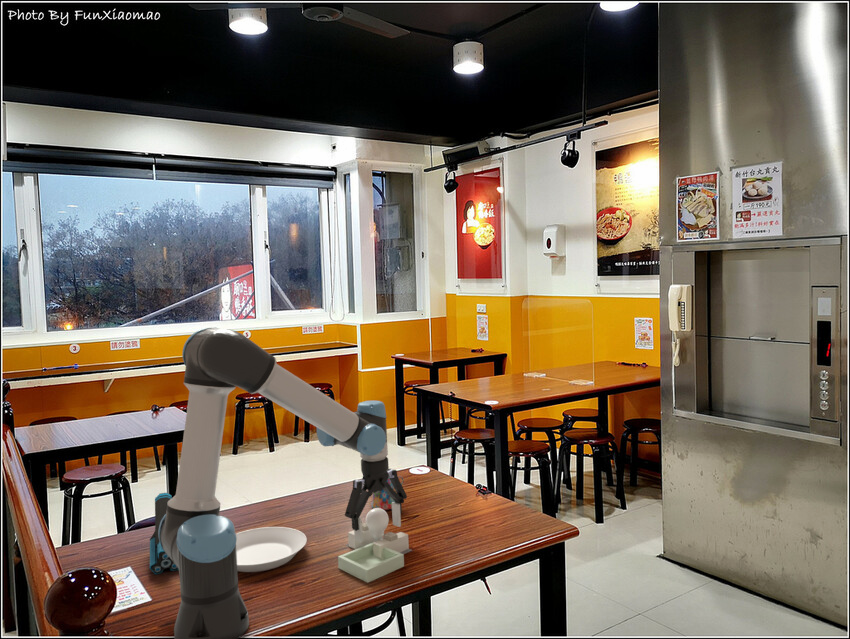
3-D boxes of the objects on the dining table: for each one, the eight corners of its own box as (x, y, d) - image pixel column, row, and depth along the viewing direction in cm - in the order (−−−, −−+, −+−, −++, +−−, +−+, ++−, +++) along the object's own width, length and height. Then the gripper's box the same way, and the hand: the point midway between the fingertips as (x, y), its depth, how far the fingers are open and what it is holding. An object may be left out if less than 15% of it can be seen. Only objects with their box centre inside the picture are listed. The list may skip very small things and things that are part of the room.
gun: (151, 597, 164) (147, 549, 160) (151, 536, 187) (148, 492, 183) (184, 590, 167) (181, 542, 163) (180, 531, 190) (177, 488, 186)
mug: (376, 514, 200) (375, 481, 199) (365, 505, 208) (364, 474, 208) (410, 507, 206) (409, 474, 205) (398, 498, 214) (397, 468, 213)
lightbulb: (386, 552, 171) (384, 513, 170) (364, 551, 172) (362, 512, 171) (392, 543, 177) (390, 504, 176) (370, 542, 178) (368, 504, 178)
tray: (367, 582, 154) (366, 570, 154) (338, 568, 163) (337, 556, 162) (404, 566, 162) (403, 554, 162) (374, 553, 171) (374, 542, 171)
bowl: (209, 585, 156) (208, 571, 156) (215, 546, 180) (214, 534, 180) (311, 569, 163) (310, 556, 163) (303, 533, 187) (302, 522, 187)
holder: (384, 565, 165) (383, 543, 165) (345, 547, 177) (344, 526, 177) (412, 553, 172) (411, 531, 171) (373, 536, 184) (372, 516, 184)
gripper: (345, 471, 162) (350, 551, 163) (416, 449, 179) (420, 522, 180) (328, 465, 167) (333, 543, 168) (399, 445, 184) (403, 516, 186)
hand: (378, 533), depth 174 cm, fingers open, 13 cm apart
